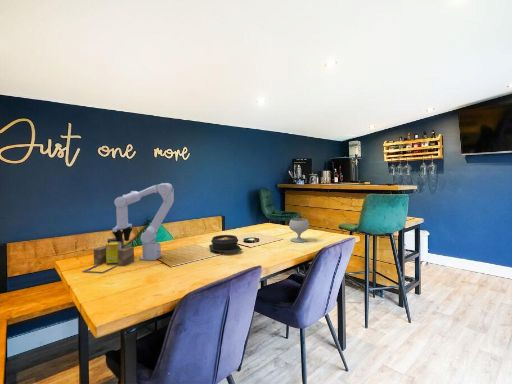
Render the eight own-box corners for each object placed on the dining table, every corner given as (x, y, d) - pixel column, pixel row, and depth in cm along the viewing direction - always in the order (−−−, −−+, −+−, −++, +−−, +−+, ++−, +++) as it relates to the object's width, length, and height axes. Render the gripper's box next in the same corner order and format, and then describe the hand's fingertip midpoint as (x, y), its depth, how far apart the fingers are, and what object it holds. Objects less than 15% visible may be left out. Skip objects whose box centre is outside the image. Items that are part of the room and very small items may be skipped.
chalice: (312, 239, 203) (312, 219, 203) (304, 243, 192) (304, 221, 191) (294, 237, 211) (294, 217, 210) (285, 241, 199) (285, 220, 198)
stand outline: (117, 266, 146) (117, 265, 146) (103, 273, 136) (103, 272, 136) (98, 265, 148) (98, 264, 148) (82, 272, 138) (82, 271, 137)
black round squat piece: (249, 252, 172) (248, 238, 172) (222, 257, 161) (222, 243, 160) (226, 244, 192) (226, 232, 191) (201, 249, 180) (201, 236, 180)
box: (109, 259, 160) (108, 240, 159) (107, 256, 165) (107, 238, 164) (124, 256, 164) (123, 238, 164) (122, 254, 169) (122, 236, 168)
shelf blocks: (134, 261, 155) (133, 246, 154) (125, 265, 147) (124, 250, 146) (104, 259, 158) (104, 245, 157) (94, 264, 150) (93, 249, 149)
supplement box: (110, 261, 155) (110, 241, 154) (122, 261, 156) (121, 241, 155) (106, 264, 149) (105, 244, 149) (118, 264, 150) (117, 243, 149)
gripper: (123, 216, 167) (124, 239, 168) (107, 219, 152) (108, 244, 153) (134, 216, 166) (135, 239, 166) (118, 220, 151) (119, 245, 152)
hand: (123, 242), depth 160 cm, fingers open, 6 cm apart
